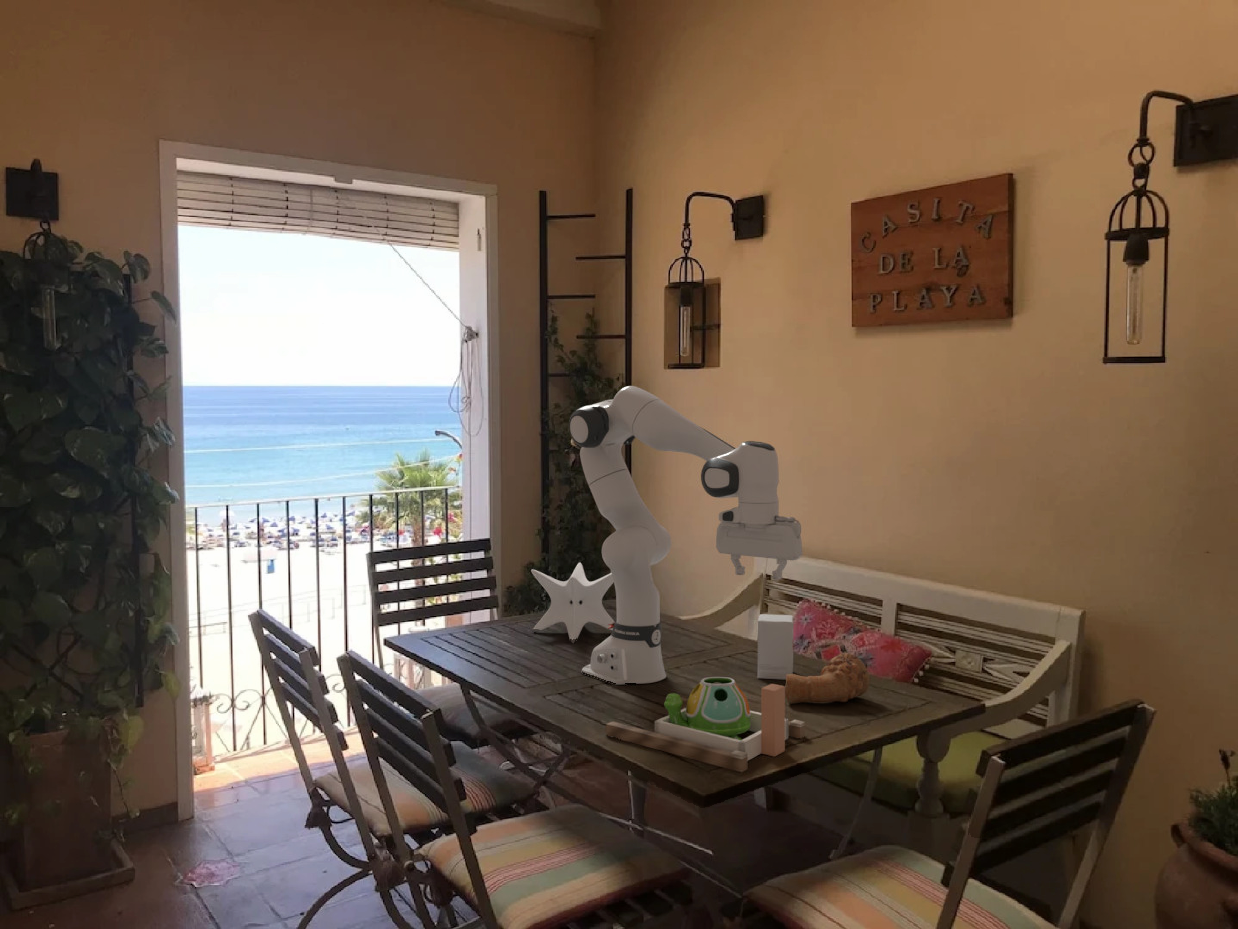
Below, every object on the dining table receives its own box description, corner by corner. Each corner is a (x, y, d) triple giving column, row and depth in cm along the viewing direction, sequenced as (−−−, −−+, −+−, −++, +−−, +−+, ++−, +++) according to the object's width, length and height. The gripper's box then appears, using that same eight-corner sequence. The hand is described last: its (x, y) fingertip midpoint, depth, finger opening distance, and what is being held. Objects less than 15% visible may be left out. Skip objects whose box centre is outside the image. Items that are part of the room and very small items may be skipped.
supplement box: (792, 680, 235) (793, 622, 235) (757, 679, 237) (757, 620, 236) (793, 671, 244) (793, 614, 244) (758, 669, 246) (759, 613, 245)
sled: (654, 740, 192) (654, 678, 191) (703, 718, 206) (703, 660, 205) (756, 767, 177) (756, 699, 176) (801, 741, 191) (801, 678, 190)
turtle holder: (660, 728, 200) (660, 673, 199) (744, 726, 201) (744, 671, 200) (667, 748, 188) (667, 690, 187) (756, 746, 189) (756, 688, 188)
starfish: (531, 633, 290) (530, 569, 289) (580, 623, 303) (579, 562, 302) (572, 644, 275) (572, 577, 274) (622, 633, 288) (621, 569, 287)
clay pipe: (867, 727, 211) (870, 689, 225) (868, 686, 208) (871, 651, 221) (784, 717, 217) (791, 681, 230) (783, 678, 213) (791, 643, 226)
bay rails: (606, 735, 195) (606, 721, 195) (675, 706, 215) (675, 693, 215) (741, 772, 175) (741, 756, 174) (804, 736, 194) (804, 721, 194)
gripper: (807, 516, 202) (807, 579, 203) (727, 511, 215) (727, 570, 216) (793, 519, 197) (793, 583, 198) (712, 513, 210) (712, 574, 211)
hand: (758, 576), depth 207 cm, fingers open, 8 cm apart
